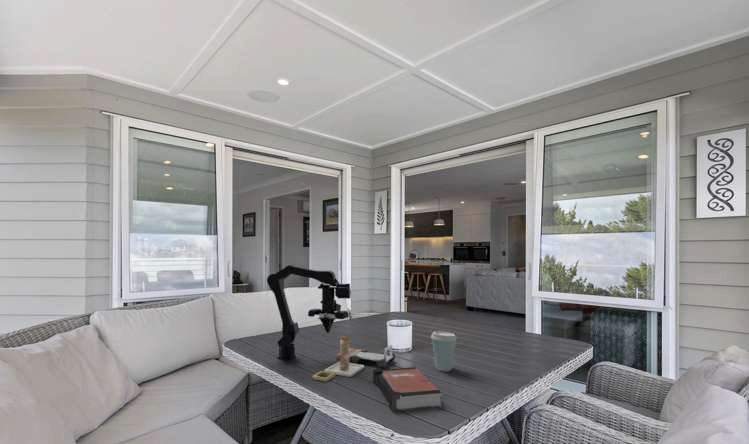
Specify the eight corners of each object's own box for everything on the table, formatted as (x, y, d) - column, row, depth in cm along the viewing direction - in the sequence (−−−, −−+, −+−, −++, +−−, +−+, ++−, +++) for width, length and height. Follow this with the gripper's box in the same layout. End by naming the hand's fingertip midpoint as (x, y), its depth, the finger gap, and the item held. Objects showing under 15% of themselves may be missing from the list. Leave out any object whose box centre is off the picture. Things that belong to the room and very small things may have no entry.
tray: (324, 372, 149) (324, 369, 149) (339, 364, 160) (339, 361, 160) (350, 377, 144) (350, 374, 144) (364, 368, 155) (364, 365, 155)
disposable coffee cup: (441, 363, 161) (440, 328, 162) (462, 369, 153) (461, 332, 154) (426, 369, 153) (425, 332, 155) (447, 375, 146) (447, 336, 147)
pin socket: (312, 379, 142) (312, 376, 142) (321, 374, 147) (321, 371, 147) (326, 381, 139) (326, 378, 139) (335, 376, 145) (335, 373, 145)
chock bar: (336, 362, 163) (336, 354, 163) (348, 355, 174) (349, 348, 174) (350, 364, 160) (350, 356, 160) (362, 357, 171) (362, 349, 171)
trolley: (349, 364, 160) (349, 346, 160) (362, 356, 171) (362, 340, 171) (384, 369, 153) (384, 350, 153) (395, 361, 164) (395, 344, 164)
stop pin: (339, 370, 150) (339, 338, 151) (341, 367, 154) (341, 336, 155) (348, 371, 150) (348, 338, 151) (349, 368, 153) (349, 336, 154)
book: (444, 407, 118) (444, 391, 118) (391, 412, 114) (391, 396, 114) (416, 379, 143) (416, 365, 144) (373, 382, 139) (373, 369, 140)
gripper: (354, 297, 173) (354, 331, 172) (320, 295, 181) (320, 327, 180) (342, 300, 163) (342, 336, 162) (307, 298, 171) (307, 332, 170)
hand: (328, 332), depth 169 cm, fingers closed
